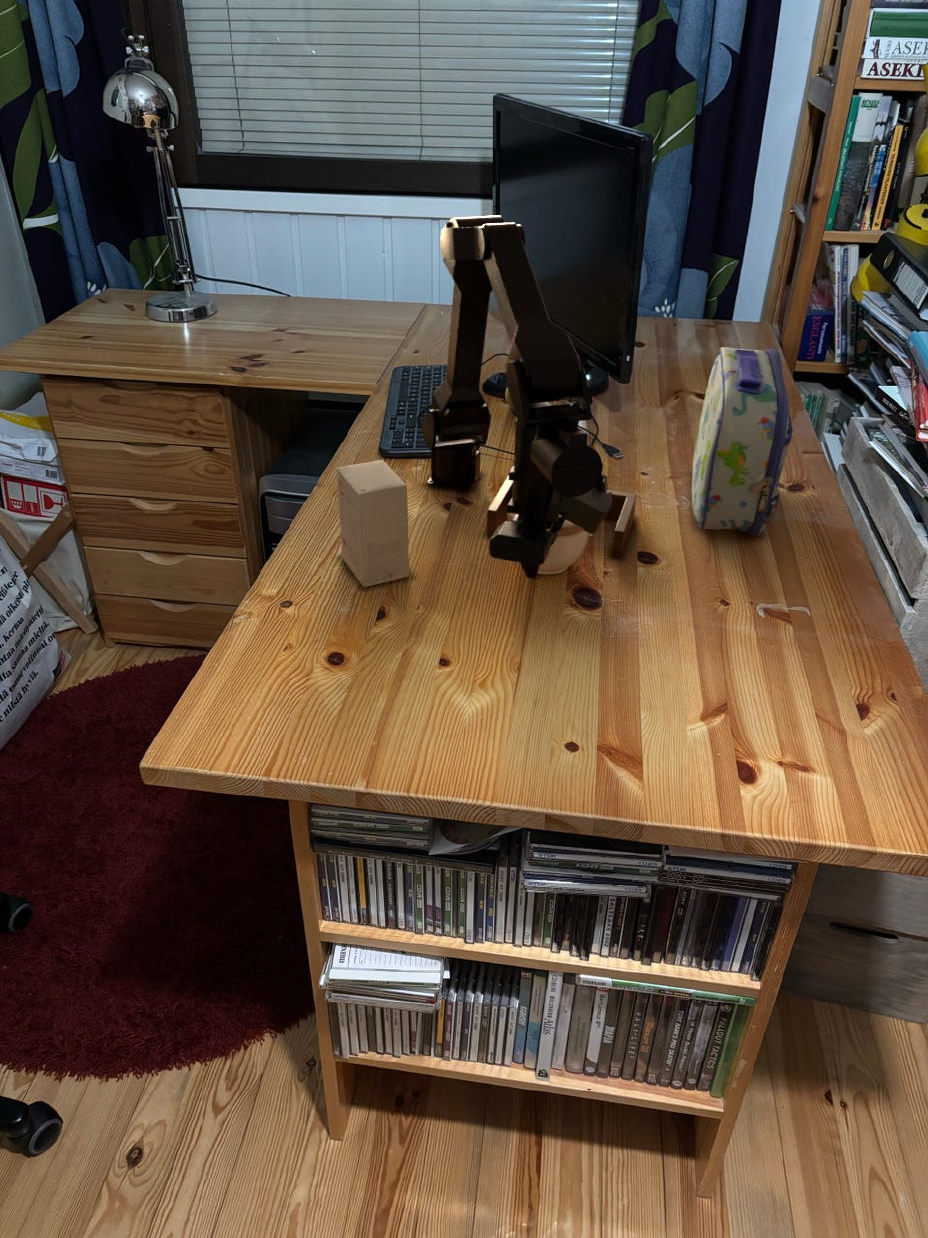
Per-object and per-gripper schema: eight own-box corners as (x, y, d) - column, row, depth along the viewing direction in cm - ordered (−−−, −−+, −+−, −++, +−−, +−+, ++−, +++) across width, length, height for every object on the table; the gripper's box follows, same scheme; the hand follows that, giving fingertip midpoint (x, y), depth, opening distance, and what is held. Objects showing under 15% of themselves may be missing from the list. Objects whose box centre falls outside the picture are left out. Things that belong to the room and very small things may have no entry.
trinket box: (499, 543, 126) (502, 480, 120) (577, 541, 127) (584, 478, 121) (510, 585, 117) (514, 518, 112) (594, 582, 118) (602, 516, 113)
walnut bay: (486, 535, 127) (487, 509, 125) (507, 499, 136) (508, 474, 134) (620, 558, 123) (623, 531, 121) (633, 519, 132) (636, 493, 130)
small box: (410, 577, 118) (408, 484, 111) (363, 588, 116) (358, 494, 109) (386, 547, 124) (383, 457, 117) (341, 557, 122) (334, 466, 114)
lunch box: (771, 551, 125) (806, 402, 113) (690, 543, 127) (716, 395, 115) (758, 467, 146) (786, 334, 134) (688, 461, 148) (710, 329, 136)
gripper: (594, 504, 96) (581, 630, 104) (624, 437, 111) (610, 552, 119) (490, 489, 98) (486, 612, 107) (532, 425, 113) (526, 538, 122)
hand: (531, 577), depth 114 cm, fingers closed
